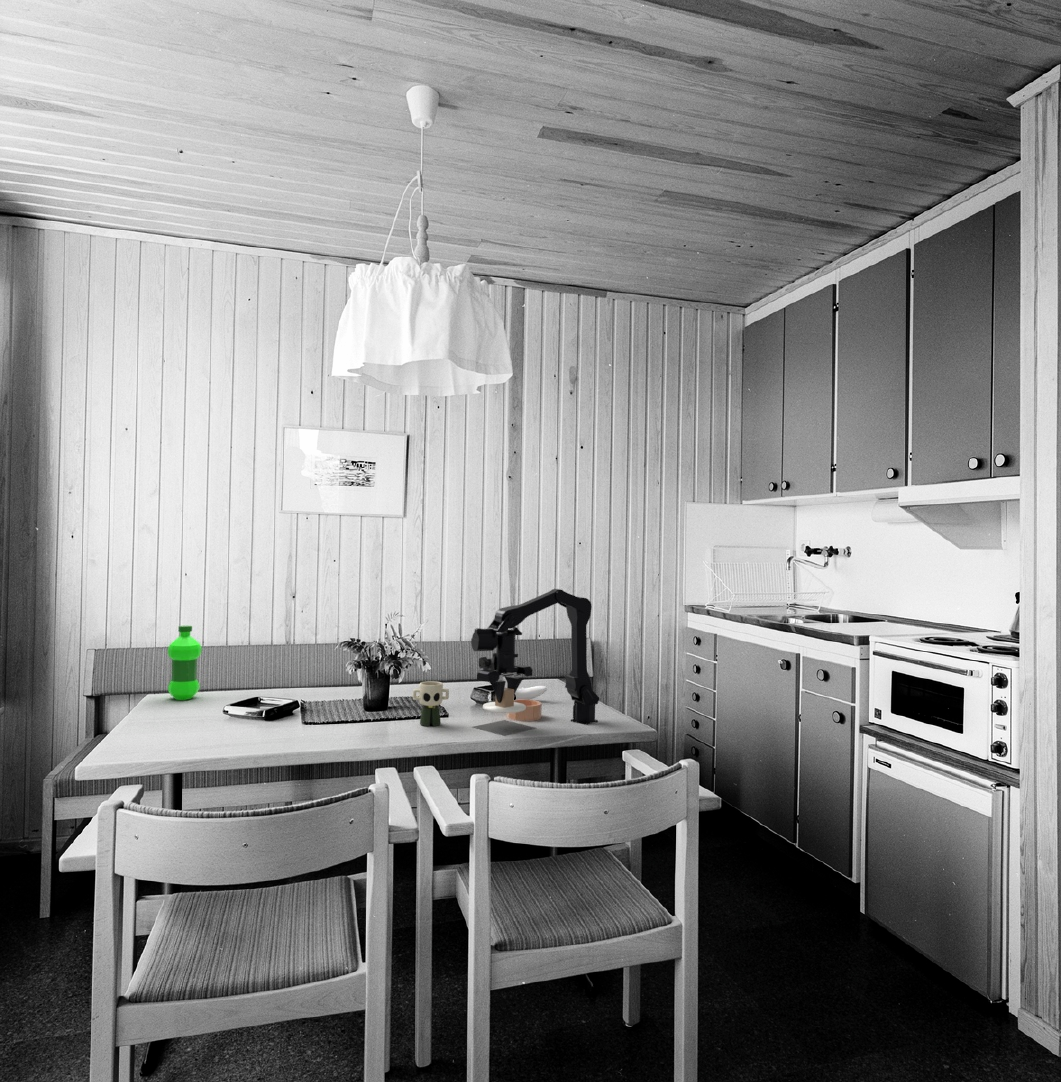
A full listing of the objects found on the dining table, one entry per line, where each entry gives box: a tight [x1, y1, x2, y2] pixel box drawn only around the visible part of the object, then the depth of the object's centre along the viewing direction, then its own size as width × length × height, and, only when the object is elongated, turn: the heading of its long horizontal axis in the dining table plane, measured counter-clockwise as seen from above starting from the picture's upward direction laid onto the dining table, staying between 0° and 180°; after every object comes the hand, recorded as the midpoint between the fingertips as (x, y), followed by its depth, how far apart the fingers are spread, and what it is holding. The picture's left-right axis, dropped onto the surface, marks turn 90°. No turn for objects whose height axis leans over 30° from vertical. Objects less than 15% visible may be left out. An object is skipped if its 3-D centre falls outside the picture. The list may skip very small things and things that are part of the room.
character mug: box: [412, 680, 450, 727], centre depth 237 cm, size 11×7×13 cm, turn 103°
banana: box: [502, 673, 548, 700], centre depth 277 cm, size 5×19×15 cm, turn 96°
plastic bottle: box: [167, 625, 202, 701], centre depth 268 cm, size 10×10×25 cm
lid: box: [482, 688, 526, 714], centre depth 235 cm, size 13×13×6 cm
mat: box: [472, 719, 537, 736], centre depth 235 cm, size 14×14×1 cm
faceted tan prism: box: [506, 699, 543, 722], centre depth 250 cm, size 11×11×5 cm
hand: (504, 701), depth 235 cm, fingers closed on lid, 4 cm apart
